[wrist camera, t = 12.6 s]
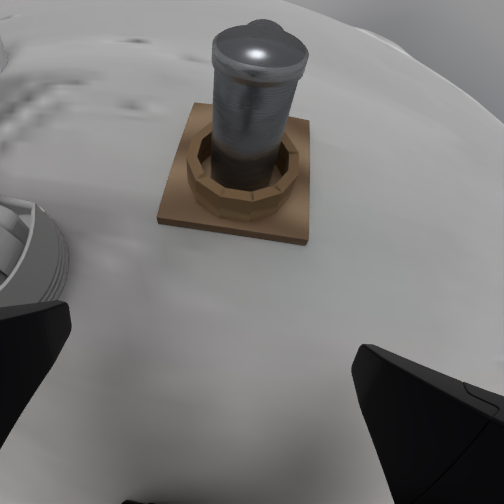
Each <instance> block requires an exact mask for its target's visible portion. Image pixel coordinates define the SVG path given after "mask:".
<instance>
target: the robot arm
mask: <svg viewBox="0 0 504 504" xmlns="http://www.w3.org/2000/svg"><path fill="white" fill-rule="evenodd" d="M70 332H71V318H70V311H69V306H68V304H67V303H66V302H63V301H59V300H53V301H46V302H38V303H30V304H23V305H15V306H7V307H0V449H1V447H2V445H3V444H4V442H5V440H6V438H7V437H8V435H9V433H10V432H11V430H12V428H13V427H14V425H15V423H16V422H17V420H18V418H19V417H20V415H21V413H22V412H23V410H24V409H25V407H26V405H27V404H28V402H29V401H30V399H31V398H32V396H33V395H34V393H35V391H36V390H37V388H38V387H39V385H40V384H41V382H42V381H43V379H44V378H45V376H46V375H47V373H48V372H49V371H50V369H51V367H52V366H53V364H54V363H55V361H56V359H57V357H58V355H59V353H60V351H61V350H62V348H63V346H64V344H65V342H66V340H67V338H68V337H69V335H70ZM351 372H352V377H353V381H354V385H355V389H356V393H357V397H358V402H359V405H360V408H361V411H362V414H363V417H364V419H365V422H366V425H367V427H368V430H369V433H370V435H371V438H372V441H373V443H374V446H375V449H376V452H377V454H378V457H379V460H380V463H381V466H382V469H383V471H384V474H385V477H386V480H387V483H388V486H389V489H390V492H391V495H392V497H393V500H394V503H395V504H504V396H502V395H499V394H496V393H493V392H490V391H487V390H484V389H482V388H479V387H476V386H474V385H471V384H468V383H466V382H463V383H462V381H460V380H457V379H455V378H452V377H450V376H447V375H445V374H442V373H440V372H437V371H435V370H432V369H430V368H428V367H425V366H423V365H420V364H418V363H416V362H413V361H411V360H408V359H406V358H404V357H401V356H399V355H397V354H394V353H392V352H389V351H387V350H385V349H382V348H380V347H378V346H375V345H372V344H362V345H361V346H360V347H359V349H358V352H357V354H356V357H355V359H354V361H353V364H352V368H351ZM122 504H142V503H138V502H133V501H130V500H125V501H124V502H123V503H122ZM148 504H153V503H148Z"/></svg>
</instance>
